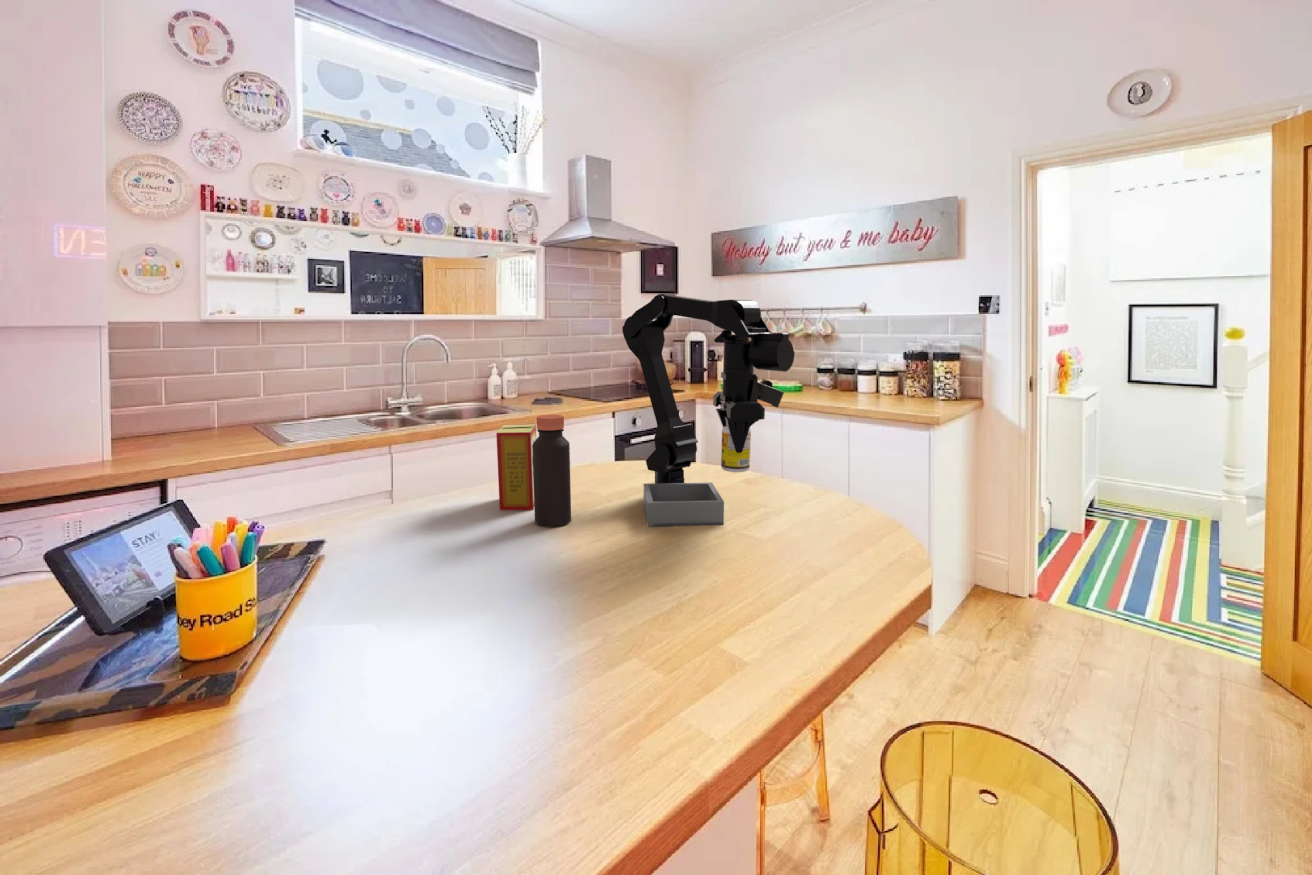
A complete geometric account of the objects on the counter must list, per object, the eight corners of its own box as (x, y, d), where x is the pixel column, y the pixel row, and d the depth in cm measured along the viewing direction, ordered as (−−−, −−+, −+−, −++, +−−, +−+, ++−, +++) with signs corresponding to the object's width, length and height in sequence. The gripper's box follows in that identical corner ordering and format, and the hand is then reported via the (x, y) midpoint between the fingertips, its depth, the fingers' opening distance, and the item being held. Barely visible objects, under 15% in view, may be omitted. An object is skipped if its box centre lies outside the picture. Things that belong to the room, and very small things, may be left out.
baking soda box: (533, 509, 130) (530, 430, 127) (499, 510, 130) (496, 431, 127) (538, 496, 139) (535, 422, 136) (507, 497, 139) (503, 423, 136)
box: (647, 526, 120) (647, 503, 119) (643, 504, 133) (643, 483, 132) (723, 525, 121) (724, 501, 120) (711, 503, 134) (712, 482, 133)
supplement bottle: (724, 465, 130) (726, 414, 128) (752, 467, 128) (754, 416, 126) (717, 471, 125) (719, 418, 123) (746, 474, 123) (748, 420, 121)
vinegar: (568, 528, 119) (565, 419, 115) (531, 527, 119) (527, 419, 115) (573, 516, 125) (571, 413, 122) (538, 516, 126) (535, 413, 122)
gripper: (795, 372, 114) (790, 459, 117) (768, 363, 132) (764, 439, 135) (732, 372, 113) (729, 460, 116) (713, 363, 131) (711, 439, 134)
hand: (735, 449), depth 126 cm, fingers closed on supplement bottle, 6 cm apart
